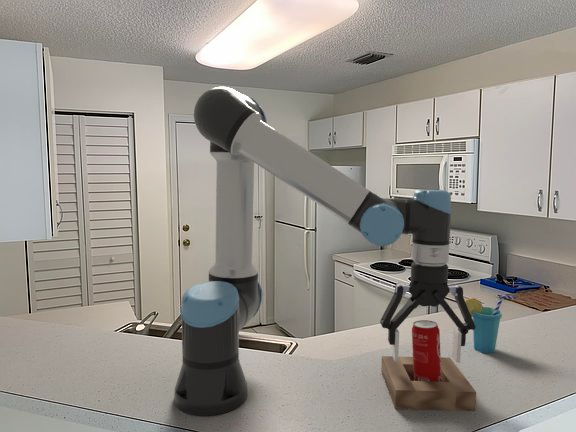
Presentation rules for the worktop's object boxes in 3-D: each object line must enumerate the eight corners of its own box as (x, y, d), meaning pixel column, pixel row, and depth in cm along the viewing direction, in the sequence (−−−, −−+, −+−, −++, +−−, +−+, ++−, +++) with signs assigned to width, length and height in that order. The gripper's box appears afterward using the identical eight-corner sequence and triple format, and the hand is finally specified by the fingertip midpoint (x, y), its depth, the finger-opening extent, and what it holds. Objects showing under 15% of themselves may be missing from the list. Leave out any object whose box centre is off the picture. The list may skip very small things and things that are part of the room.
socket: (395, 408, 89) (395, 390, 88) (381, 372, 105) (381, 356, 104) (475, 411, 88) (476, 392, 88) (449, 373, 104) (449, 357, 104)
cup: (503, 342, 123) (506, 290, 121) (520, 354, 115) (524, 298, 114) (455, 344, 121) (458, 291, 120) (469, 356, 114) (472, 300, 112)
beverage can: (443, 397, 93) (445, 329, 91) (411, 395, 94) (413, 327, 93) (439, 384, 99) (441, 319, 97) (409, 382, 100) (411, 318, 98)
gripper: (374, 265, 90) (371, 365, 92) (496, 267, 89) (490, 368, 91) (368, 258, 97) (366, 350, 100) (481, 259, 96) (476, 353, 99)
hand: (425, 359), depth 96 cm, fingers open, 12 cm apart
